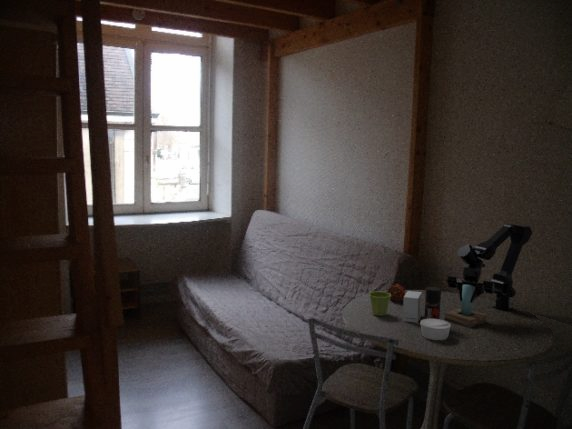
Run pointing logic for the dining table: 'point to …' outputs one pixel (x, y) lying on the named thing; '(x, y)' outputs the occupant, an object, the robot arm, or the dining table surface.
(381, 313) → the plant pot
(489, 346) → the dining table surface
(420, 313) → the skincare box
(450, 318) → the socket block
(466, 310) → the peg
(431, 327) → the ramekin
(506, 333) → the dining table surface
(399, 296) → the dragon fruit
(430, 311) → the deodorant
